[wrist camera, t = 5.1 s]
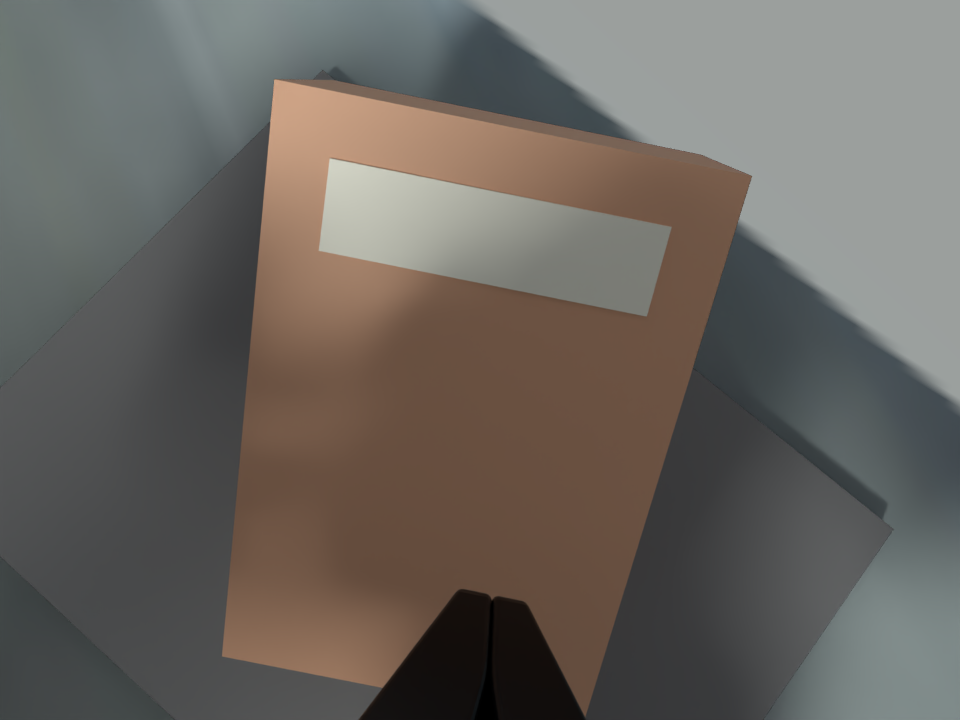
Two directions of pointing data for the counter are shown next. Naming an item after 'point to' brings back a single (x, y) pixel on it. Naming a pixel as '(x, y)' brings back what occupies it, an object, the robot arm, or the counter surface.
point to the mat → (213, 489)
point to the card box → (459, 373)
